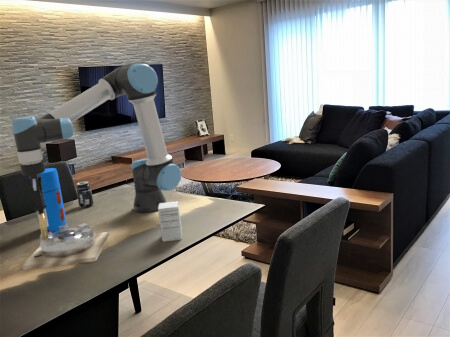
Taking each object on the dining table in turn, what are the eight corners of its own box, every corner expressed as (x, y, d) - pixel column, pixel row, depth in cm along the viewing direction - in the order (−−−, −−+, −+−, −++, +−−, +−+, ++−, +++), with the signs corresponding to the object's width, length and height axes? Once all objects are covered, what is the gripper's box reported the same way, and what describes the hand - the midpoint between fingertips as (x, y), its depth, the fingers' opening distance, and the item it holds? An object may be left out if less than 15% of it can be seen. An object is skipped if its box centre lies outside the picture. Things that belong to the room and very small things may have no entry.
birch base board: (109, 235, 164) (108, 231, 164) (96, 261, 141) (95, 256, 140) (46, 242, 163) (46, 238, 162) (22, 270, 139) (21, 265, 139)
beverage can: (78, 205, 210) (74, 182, 208) (92, 203, 213) (88, 180, 211) (80, 209, 204) (76, 185, 202) (94, 206, 207) (90, 182, 204)
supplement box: (163, 234, 159) (158, 202, 156) (182, 232, 160) (178, 200, 157) (161, 242, 152) (157, 208, 149) (182, 239, 152) (178, 206, 150)
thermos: (57, 232, 174) (46, 173, 168) (34, 232, 176) (23, 174, 171) (71, 223, 184) (61, 167, 179) (50, 223, 186) (39, 168, 181)
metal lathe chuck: (90, 233, 163) (84, 198, 160) (99, 247, 147) (92, 209, 144) (40, 245, 155) (32, 209, 152) (44, 262, 139) (36, 222, 136)
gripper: (42, 163, 140) (55, 230, 145) (44, 157, 152) (56, 219, 157) (17, 167, 138) (31, 234, 143) (21, 161, 150) (34, 223, 155)
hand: (44, 226), depth 150 cm, fingers closed
